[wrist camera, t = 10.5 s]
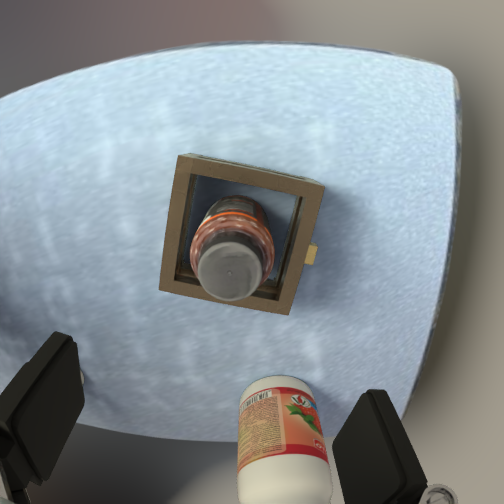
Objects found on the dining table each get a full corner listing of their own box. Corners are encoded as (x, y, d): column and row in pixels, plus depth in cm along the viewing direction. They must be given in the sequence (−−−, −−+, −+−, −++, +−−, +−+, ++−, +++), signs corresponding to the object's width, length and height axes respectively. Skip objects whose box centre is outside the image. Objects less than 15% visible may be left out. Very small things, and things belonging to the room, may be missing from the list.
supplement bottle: (194, 208, 29) (164, 245, 19) (254, 184, 29) (257, 208, 18) (219, 264, 31) (205, 326, 21) (277, 242, 31) (292, 297, 20)
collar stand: (171, 268, 31) (158, 290, 27) (189, 153, 28) (178, 155, 23) (290, 291, 32) (297, 316, 28) (320, 181, 29) (334, 188, 24)
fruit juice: (236, 374, 36) (228, 614, 9) (316, 370, 36) (369, 598, 9) (241, 423, 39) (238, 617, 13) (310, 419, 39) (343, 608, 12)
